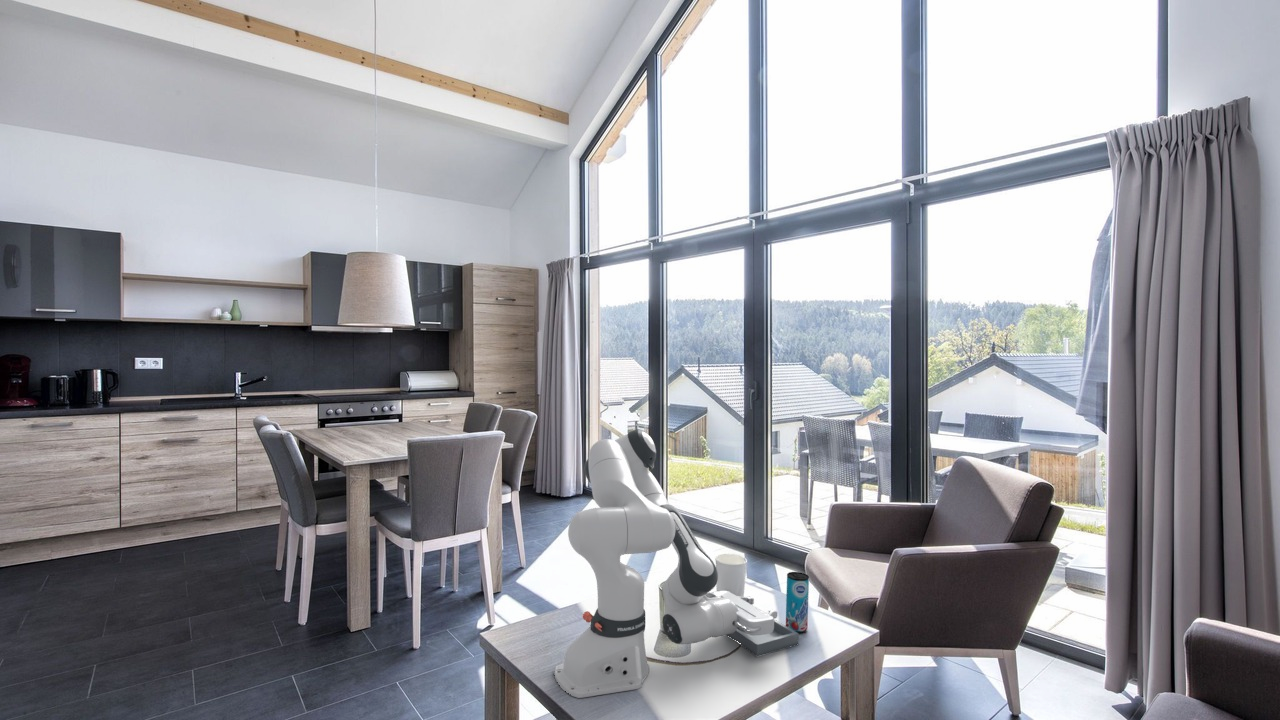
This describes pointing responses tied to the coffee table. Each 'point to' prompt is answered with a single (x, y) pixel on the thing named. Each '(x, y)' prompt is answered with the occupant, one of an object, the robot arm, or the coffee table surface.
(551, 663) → the coffee table surface
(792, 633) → the box
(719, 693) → the coffee table surface
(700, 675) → the coffee table surface
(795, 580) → the beverage can
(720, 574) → the candle holder
